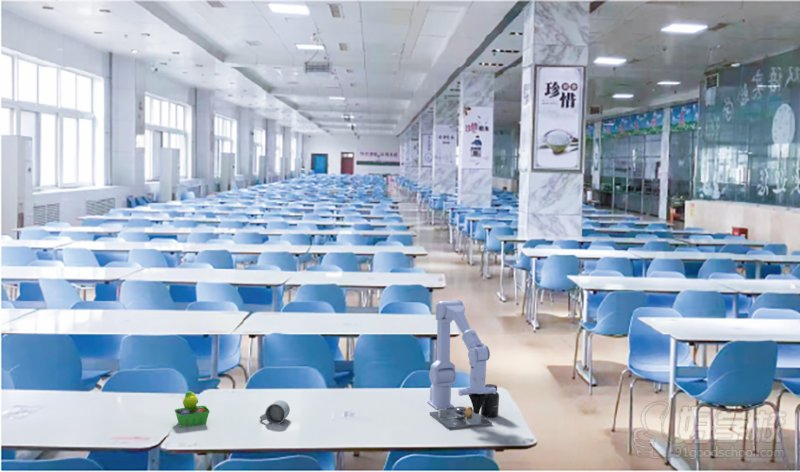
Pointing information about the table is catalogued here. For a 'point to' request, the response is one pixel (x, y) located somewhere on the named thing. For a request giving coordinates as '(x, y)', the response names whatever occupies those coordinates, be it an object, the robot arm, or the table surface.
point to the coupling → (464, 411)
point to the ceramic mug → (276, 412)
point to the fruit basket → (191, 411)
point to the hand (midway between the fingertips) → (476, 412)
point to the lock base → (459, 419)
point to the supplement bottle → (490, 404)
